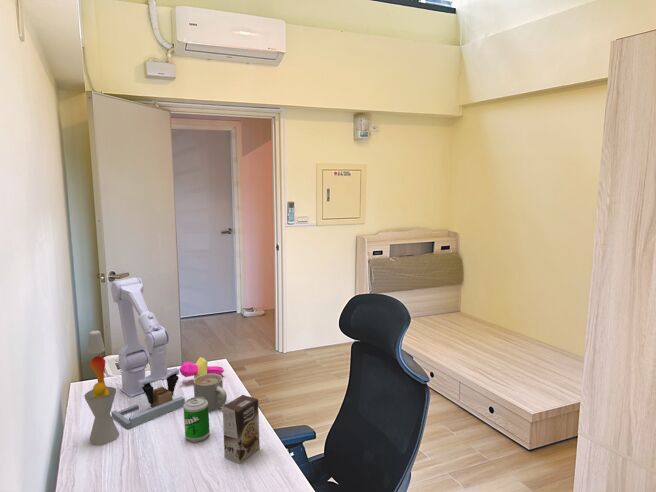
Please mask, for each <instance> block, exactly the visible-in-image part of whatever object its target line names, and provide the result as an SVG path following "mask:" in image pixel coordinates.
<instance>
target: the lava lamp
mask: <svg viewBox="0 0 656 492" xmlns="http://www.w3.org/2000/svg"><path fill="white" fill-rule="evenodd" d="M105 351H106V348H105V344H104V341H103V336H102V333H101V331H100V330H92V331H90V332H89V333H88V343H87V353H88V354H89V355H91V354H92V355H95V354H101V353H103V352H105ZM89 366H90V369H92V371H93V372H94V373H95V375H96V380H97V382H96V383H95V384H94V385H93V388H92V389H91V390H89V391H87V392H86V393H85V394H84V396H83V397H84V399H85V401H86V404H87V406H89V409H90V411H91V413H92V414H93V416H94V420H93V424H92V428H91V431H90V436H89V443H90V444H91V445H93V444H94V445H95V446H102V445H108V444H110V443H113V442H114V441H115V440H117V439H118V438H119V436H120V431H119V430H118V428H117V426H116V424H115V421H114V420H113V418H112V414H111V412H112V408H113V404H114V402H115V401H114V400H115V398H116V397H115V396H116V393H117V389H116V388H115V387H113V386H106V384H105V369H106V360H105V358H104V357H103V356H101V355H98V356H94V357H93V358H92V359H91V360H90V362H89Z"/></svg>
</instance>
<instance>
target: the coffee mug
mask: <svg viewBox="0 0 656 492" xmlns="http://www.w3.org/2000/svg"><path fill="white" fill-rule="evenodd" d="M193 393H194V394H193V395H194V397H203V398H204V399H205V400H207V401H208V412H209V413H211V412H216V411H218V410H221V408H223V406H224V405H225V403H227V391H226V390H225V388H224V387H223V376H222V374H220V375H219V374H204V375H200V376H198V377H196V378H195V379H194V378H193Z"/></svg>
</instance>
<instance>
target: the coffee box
mask: <svg viewBox="0 0 656 492" xmlns="http://www.w3.org/2000/svg"><path fill="white" fill-rule="evenodd" d="M259 414H260V413H259V399H258V398H256V397H251V396H247V395H245V394H242V395H240V396H239V397H237V398H235V399H233V400H231V401H230V402H228V403H226V404H223V406H222V422H223V426H222V427H223V447H224V448H223V450H224V458H226V459H228V460H231V461H233V462H234V463H235V462H236V463H237V464H241V463H243V462H244V461H246V460H247V459H248V458H249V457H250V456H252V455H254V454H255V453H256V452H257V451H258V450H260V448H261V447H260V445H261V444H260V443H261V442H260V419H259V418H260V416H259Z"/></svg>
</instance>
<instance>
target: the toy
mask: <svg viewBox="0 0 656 492" xmlns="http://www.w3.org/2000/svg"><path fill="white" fill-rule="evenodd" d="M178 369H179V374H180V375H182V376H183V377H184V378H188V377H192V376H193V380H194V379H195V378H196V377H198V376H200V375H204V374H219V375H222V374H223V373H224V372H225V370H224V368H223V367H222V366H218V365H217V366H209V365H208V361H207V360H206V359H205V358H204V357H201V356H200V357H199V358H198V360H197V361H196V363H193V362H189V361H185V362H183V363H182V364H181V365H180V367H179V368H178Z"/></svg>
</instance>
